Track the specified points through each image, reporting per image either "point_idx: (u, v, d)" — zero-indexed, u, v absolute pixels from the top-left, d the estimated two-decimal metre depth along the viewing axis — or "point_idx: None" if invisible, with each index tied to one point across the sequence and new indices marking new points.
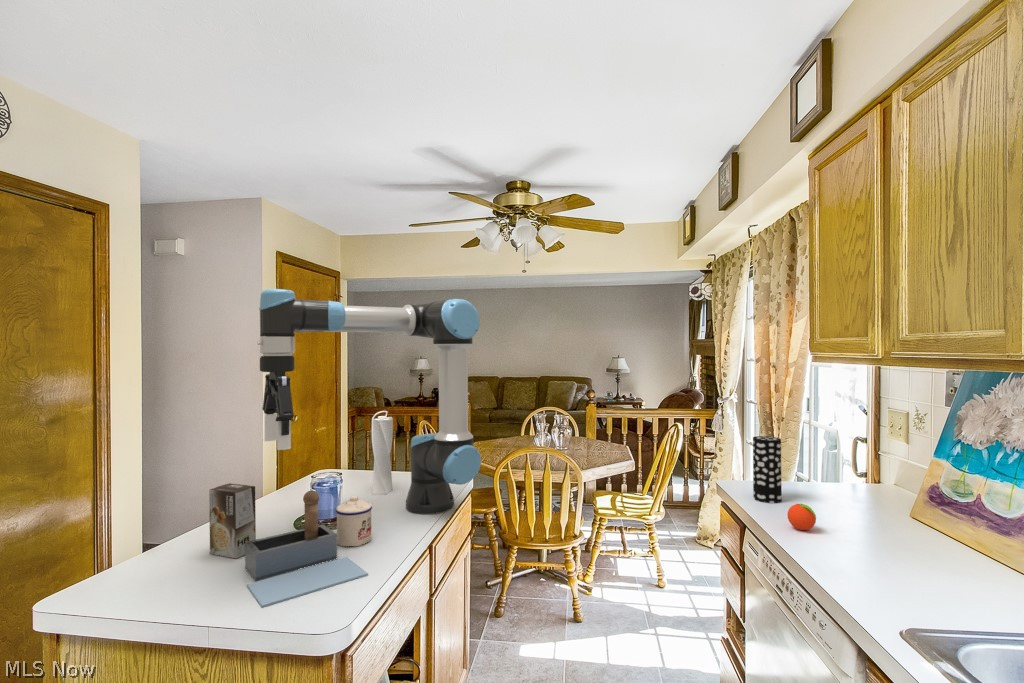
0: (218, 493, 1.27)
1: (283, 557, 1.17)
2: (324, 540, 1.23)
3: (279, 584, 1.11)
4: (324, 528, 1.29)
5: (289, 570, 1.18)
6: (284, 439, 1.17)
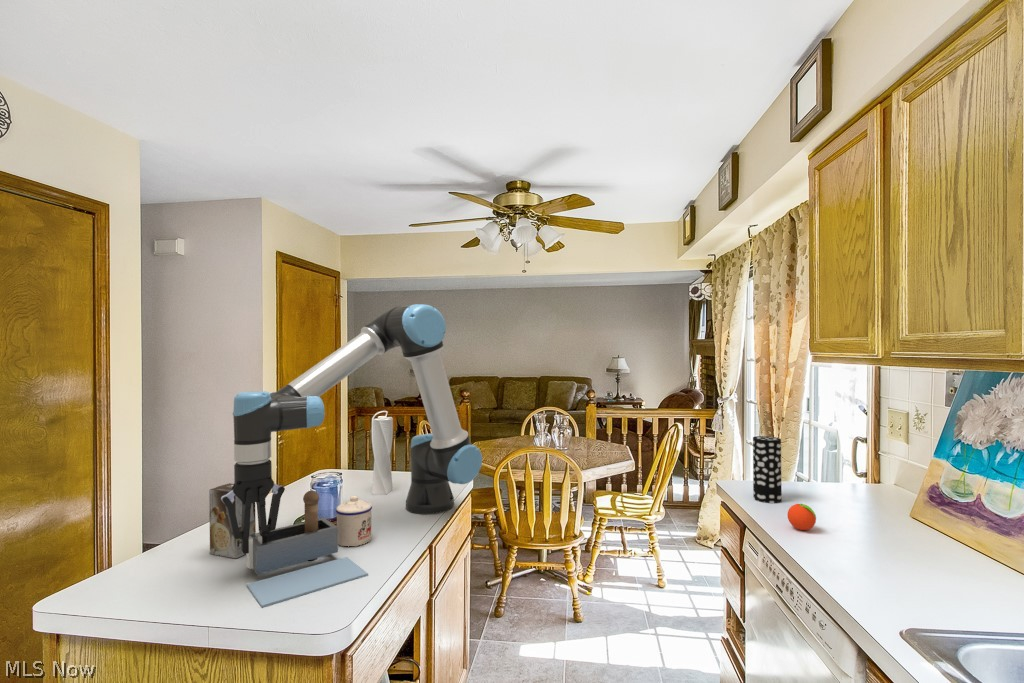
0: (218, 493, 1.27)
1: (284, 550, 1.17)
2: (325, 533, 1.23)
3: (279, 584, 1.11)
4: (325, 521, 1.29)
5: (290, 563, 1.18)
6: (247, 557, 1.16)
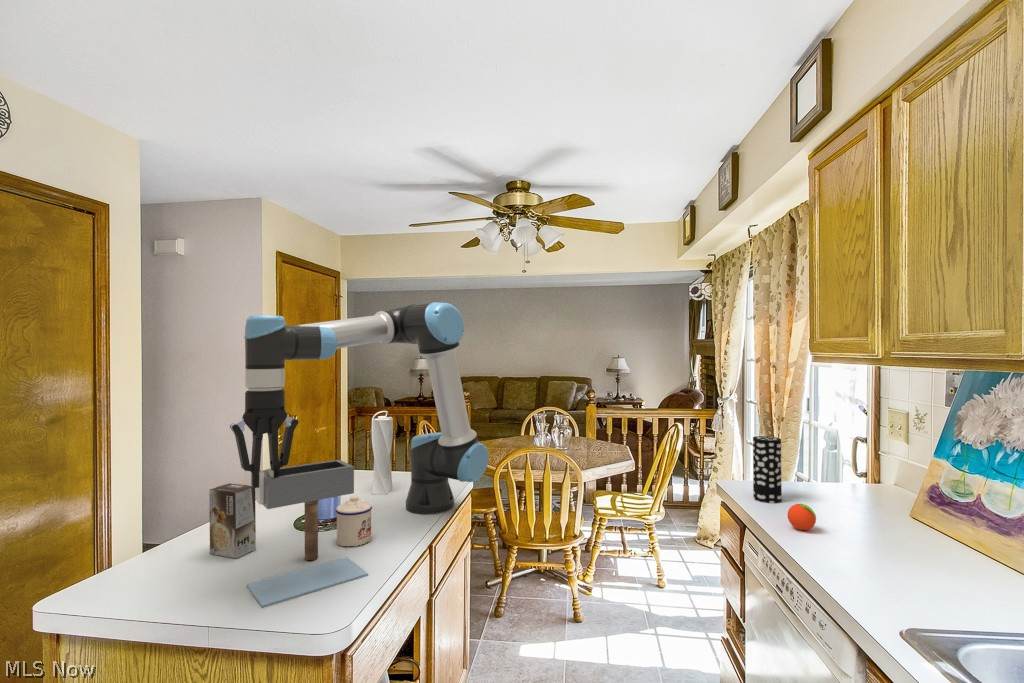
0: (218, 493, 1.27)
1: (297, 486, 1.08)
2: (340, 472, 1.14)
3: (279, 584, 1.11)
4: (340, 462, 1.20)
5: (303, 500, 1.09)
6: (258, 492, 1.08)
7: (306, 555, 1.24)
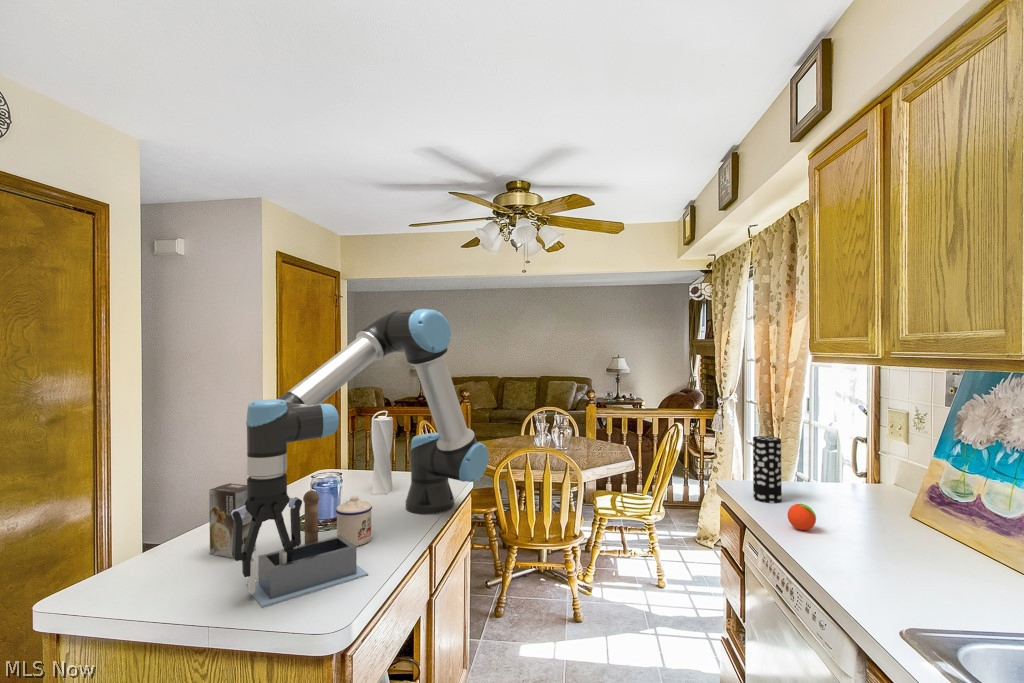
0: (218, 493, 1.27)
1: (300, 573, 1.08)
2: (343, 554, 1.14)
3: None
4: (342, 540, 1.20)
5: (306, 586, 1.09)
6: (249, 580, 1.06)
7: None
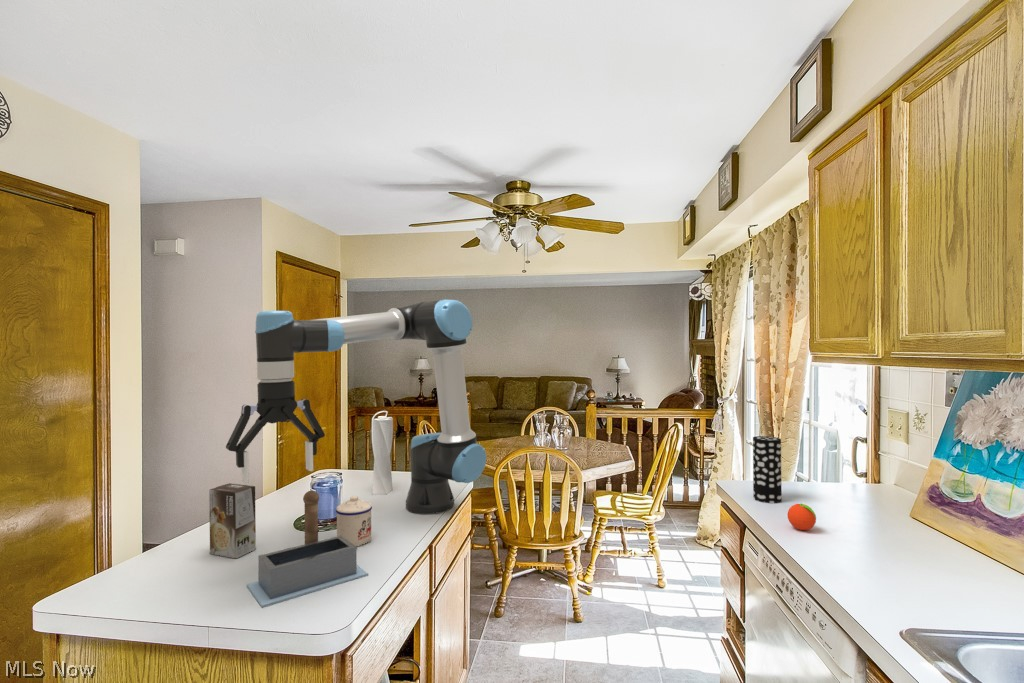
0: (218, 493, 1.27)
1: (300, 573, 1.08)
2: (343, 554, 1.14)
3: None
4: (342, 540, 1.20)
5: (306, 586, 1.09)
6: (243, 471, 1.11)
7: None
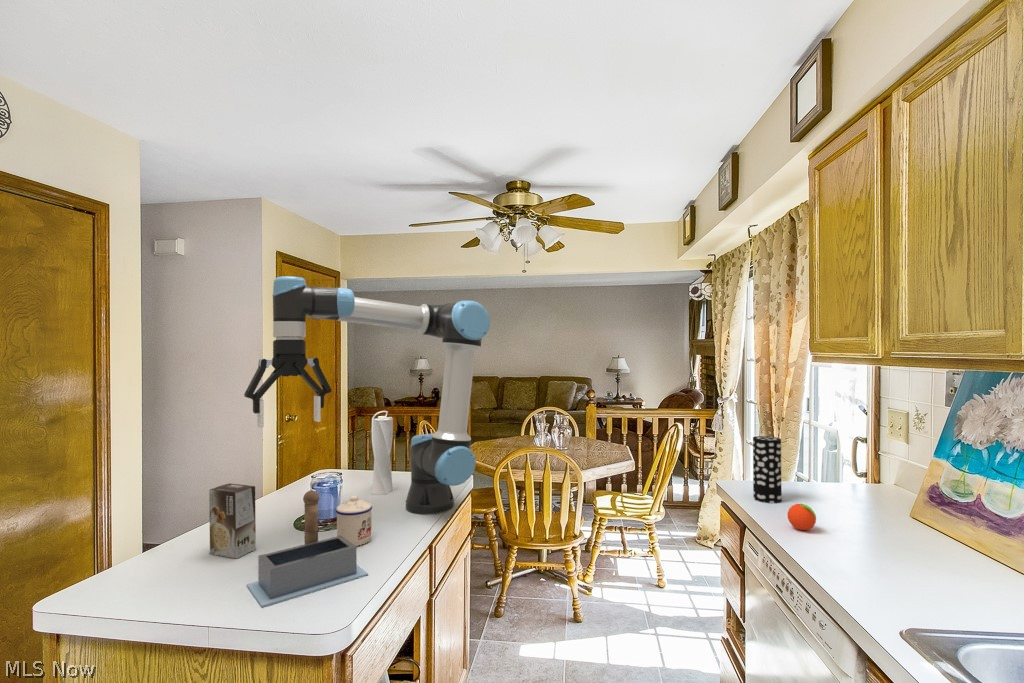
0: (218, 493, 1.27)
1: (300, 573, 1.08)
2: (343, 554, 1.14)
3: None
4: (342, 540, 1.20)
5: (306, 586, 1.09)
6: (258, 417, 1.25)
7: None
